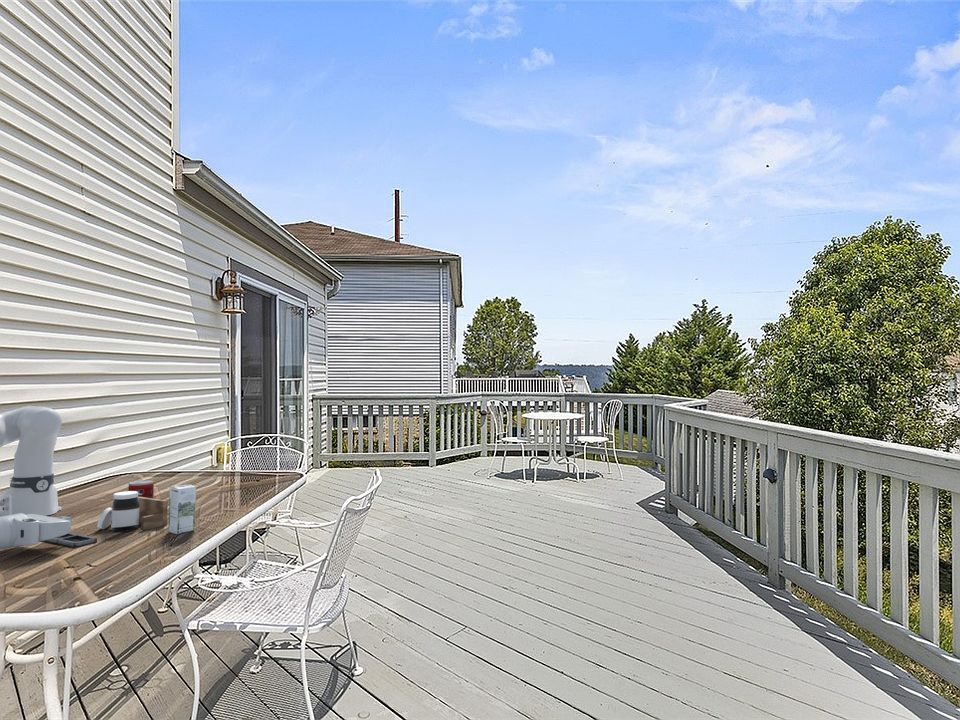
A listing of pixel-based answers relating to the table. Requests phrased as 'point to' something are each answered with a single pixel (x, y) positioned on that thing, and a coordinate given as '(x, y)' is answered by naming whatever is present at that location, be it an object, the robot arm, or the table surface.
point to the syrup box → (182, 509)
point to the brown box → (152, 512)
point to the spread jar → (122, 512)
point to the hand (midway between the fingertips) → (68, 519)
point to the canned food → (142, 488)
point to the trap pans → (73, 540)
